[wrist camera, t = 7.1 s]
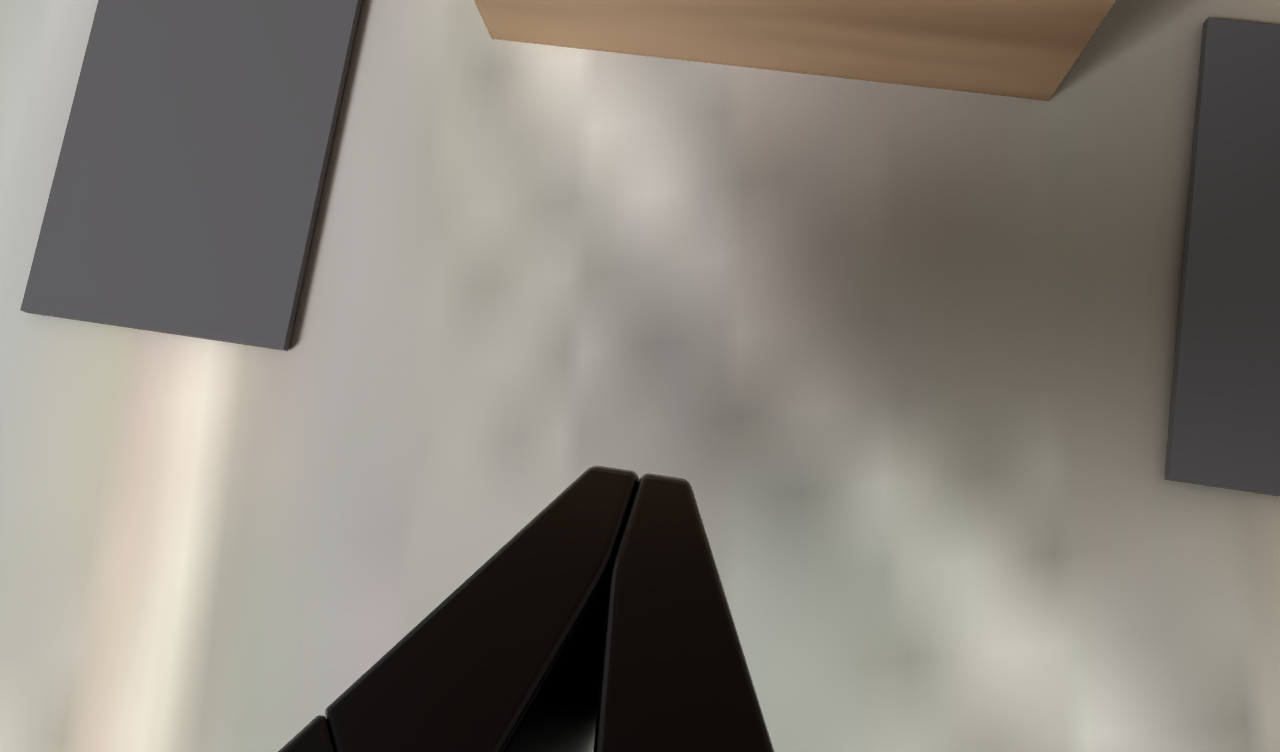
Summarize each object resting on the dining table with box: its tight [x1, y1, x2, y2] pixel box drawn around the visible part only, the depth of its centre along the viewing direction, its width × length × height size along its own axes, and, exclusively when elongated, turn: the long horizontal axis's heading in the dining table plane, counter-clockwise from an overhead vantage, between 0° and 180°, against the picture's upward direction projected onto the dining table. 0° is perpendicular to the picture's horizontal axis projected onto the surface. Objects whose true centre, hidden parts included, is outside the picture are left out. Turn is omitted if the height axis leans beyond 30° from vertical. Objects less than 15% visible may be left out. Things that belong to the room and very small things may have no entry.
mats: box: [21, 0, 1280, 496], centre depth 19 cm, size 8×25×1 cm, turn 81°
